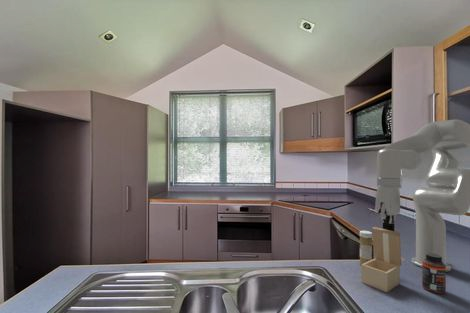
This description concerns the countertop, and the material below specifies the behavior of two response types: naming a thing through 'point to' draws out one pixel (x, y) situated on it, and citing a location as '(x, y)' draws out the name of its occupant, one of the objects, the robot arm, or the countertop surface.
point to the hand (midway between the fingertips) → (388, 234)
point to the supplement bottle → (434, 274)
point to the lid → (387, 245)
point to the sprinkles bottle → (365, 246)
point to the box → (380, 274)
